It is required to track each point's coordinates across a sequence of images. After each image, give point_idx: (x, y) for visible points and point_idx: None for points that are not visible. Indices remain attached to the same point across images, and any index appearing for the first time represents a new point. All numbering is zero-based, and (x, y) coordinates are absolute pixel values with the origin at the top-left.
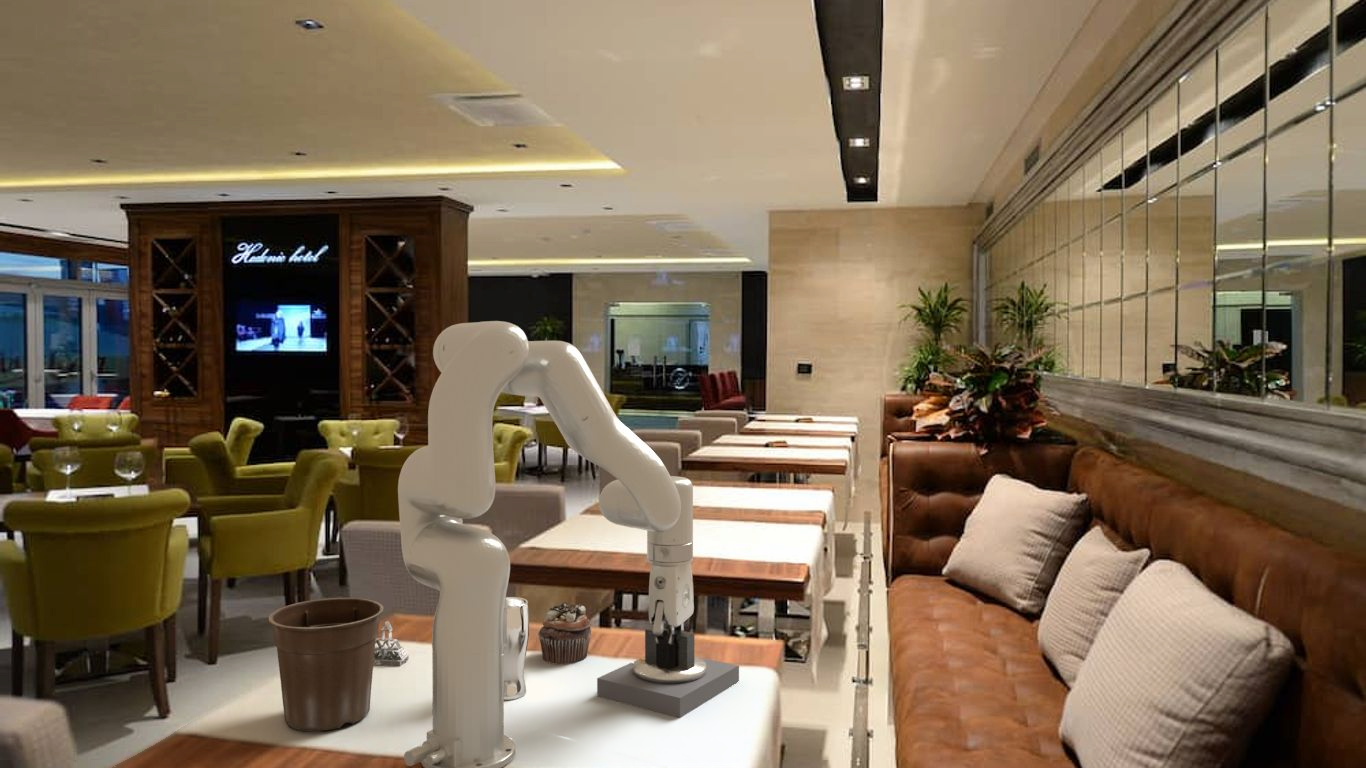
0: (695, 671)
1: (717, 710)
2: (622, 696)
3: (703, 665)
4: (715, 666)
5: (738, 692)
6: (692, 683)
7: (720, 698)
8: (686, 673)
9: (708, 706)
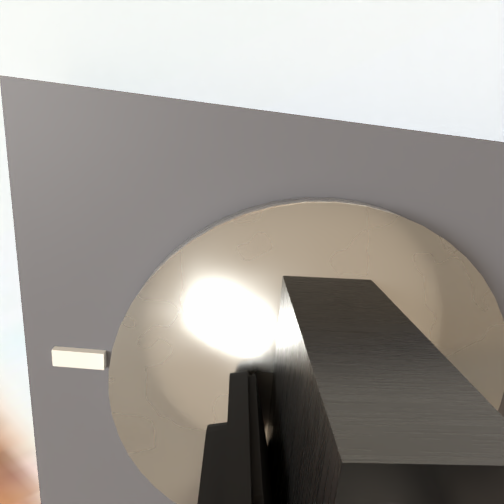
0: (369, 229)
1: (441, 38)
2: None
3: (240, 234)
4: (109, 207)
5: (177, 40)
6: (428, 202)
7: (291, 93)
8: (419, 262)
9: (406, 102)
